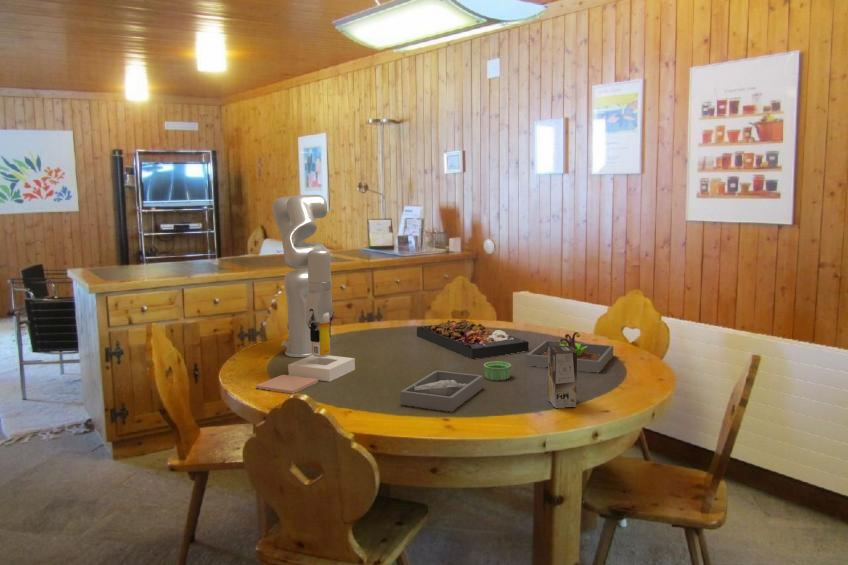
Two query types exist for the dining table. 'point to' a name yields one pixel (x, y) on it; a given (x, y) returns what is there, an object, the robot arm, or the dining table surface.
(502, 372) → the ramekin
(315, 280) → the robot arm
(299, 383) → the coaster tile
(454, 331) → the food platter
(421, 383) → the grey tray
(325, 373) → the frame
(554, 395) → the coffee box
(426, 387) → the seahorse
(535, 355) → the planter frame
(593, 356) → the plant
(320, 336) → the beer can
